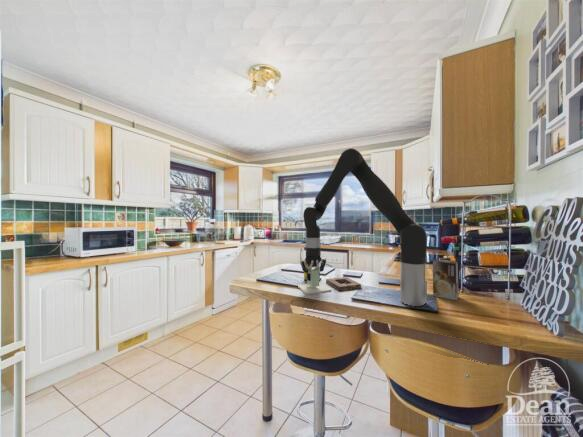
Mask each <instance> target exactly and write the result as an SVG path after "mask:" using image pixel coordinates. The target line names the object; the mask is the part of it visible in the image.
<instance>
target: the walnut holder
mask: <svg viewBox="0 0 583 437" xmlns="http://www.w3.org/2000/svg"><path fill="white" fill-rule="evenodd" d="M325 283H326V284H328V285H329V286H331V287H332V288H334V289H335V290H337V291H339V292H341V291H343V292H344V291H348V290H357V289H358V290H359V289H362V283H360V282H357V281H355V280H353V279H351V278H350V277H348V276H342V277H333V278H325Z"/></svg>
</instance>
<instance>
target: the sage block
mask: <svg viewBox="0 0 583 437" xmlns="http://www.w3.org/2000/svg"><path fill="white" fill-rule="evenodd" d="M306 282H307V283H306V284H309V285H310V286H311V287H316V286H319V282H320V279H319V270H318V269H316V268H315V267H314V268H312V269H311V270H310V281H308V279H307V281H306Z"/></svg>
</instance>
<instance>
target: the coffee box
mask: <svg viewBox="0 0 583 437" xmlns="http://www.w3.org/2000/svg"><path fill="white" fill-rule="evenodd" d="M432 297H438V298H441V299H442V298H443V299H447V300H451V301H452V300H453V301H457V300H458V299H459V261H454V260H445V259H434V260H433V261H432Z"/></svg>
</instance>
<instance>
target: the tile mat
mask: <svg viewBox="0 0 583 437" xmlns="http://www.w3.org/2000/svg"><path fill="white" fill-rule="evenodd" d="M297 286H298V287H297ZM296 287H297V288H298V289H299V290H301V291H302V292H303V293H304V294H305V295H313V294H320V293H321V294H323V293H330V292H332V290H331V288H330V287H328V286H326V285H324V284H323V283H322V282H320V281H319V286H316V287H311V286H310V285H309V284H307V283H304V284H303V283H301V284H297V285H296Z"/></svg>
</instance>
